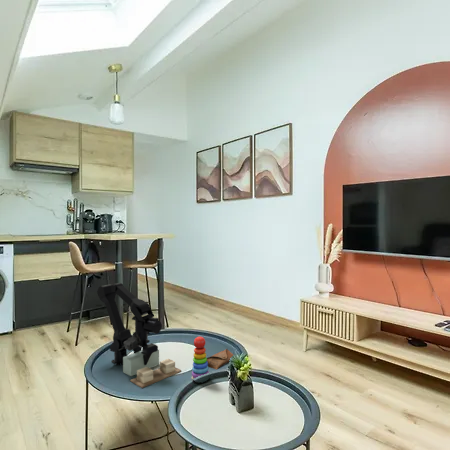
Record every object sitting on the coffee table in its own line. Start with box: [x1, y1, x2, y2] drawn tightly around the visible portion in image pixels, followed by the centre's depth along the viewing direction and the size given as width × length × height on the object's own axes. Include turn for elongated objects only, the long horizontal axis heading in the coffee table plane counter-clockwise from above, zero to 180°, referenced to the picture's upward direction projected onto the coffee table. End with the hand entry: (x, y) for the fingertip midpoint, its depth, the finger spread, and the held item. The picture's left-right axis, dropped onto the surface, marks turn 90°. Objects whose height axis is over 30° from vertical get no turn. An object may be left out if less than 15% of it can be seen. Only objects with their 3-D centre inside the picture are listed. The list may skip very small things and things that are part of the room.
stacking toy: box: [191, 336, 210, 380], centre depth 144 cm, size 8×8×19 cm
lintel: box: [122, 349, 160, 377], centre depth 156 cm, size 6×16×7 cm, turn 141°
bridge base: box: [129, 358, 182, 389], centre depth 148 cm, size 9×21×5 cm, turn 137°
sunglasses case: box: [206, 348, 234, 370], centre depth 163 cm, size 18×7×7 cm
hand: (141, 362), depth 156 cm, fingers closed on lintel, 6 cm apart
